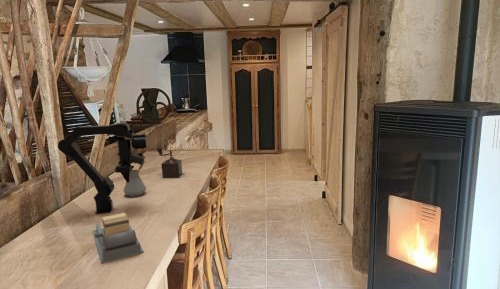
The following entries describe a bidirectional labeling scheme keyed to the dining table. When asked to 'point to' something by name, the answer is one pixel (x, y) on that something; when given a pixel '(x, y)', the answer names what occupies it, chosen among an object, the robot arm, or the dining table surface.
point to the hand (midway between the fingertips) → (128, 182)
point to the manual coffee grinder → (170, 166)
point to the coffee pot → (135, 184)
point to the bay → (116, 244)
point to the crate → (115, 224)
